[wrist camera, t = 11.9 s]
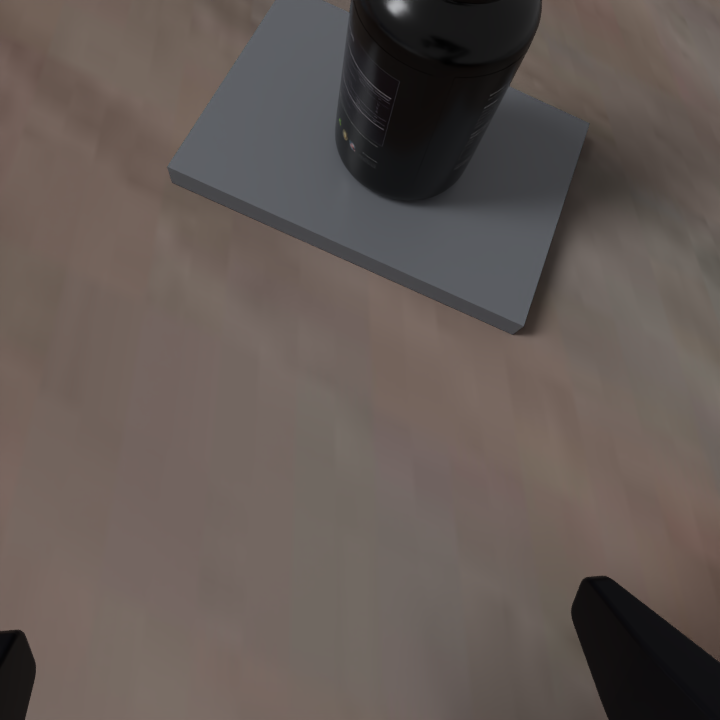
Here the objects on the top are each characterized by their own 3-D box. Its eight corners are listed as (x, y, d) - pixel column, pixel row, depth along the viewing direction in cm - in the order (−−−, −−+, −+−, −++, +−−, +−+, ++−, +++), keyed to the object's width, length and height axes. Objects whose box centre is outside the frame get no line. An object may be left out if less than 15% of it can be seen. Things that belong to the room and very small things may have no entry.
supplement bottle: (426, 76, 28) (529, -224, 17) (488, 181, 27) (647, -67, 15) (308, 111, 26) (333, -199, 15) (369, 225, 25) (448, -19, 14)
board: (577, 138, 30) (589, 123, 29) (512, 334, 26) (523, 326, 25) (286, 4, 29) (286, -17, 28) (171, 182, 25) (167, 166, 24)
